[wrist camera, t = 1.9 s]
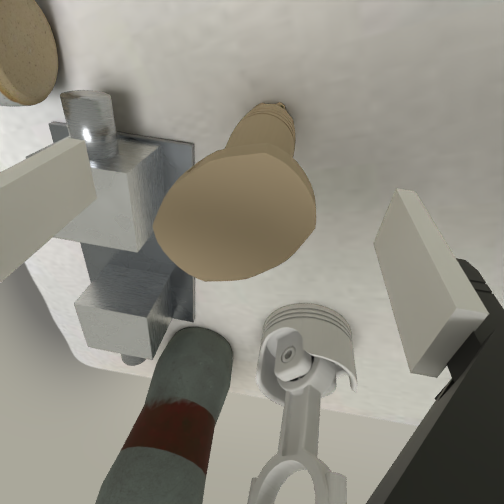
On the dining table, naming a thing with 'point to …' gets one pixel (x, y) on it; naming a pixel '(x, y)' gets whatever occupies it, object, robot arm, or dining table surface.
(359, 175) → the dining table surface
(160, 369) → the bottle
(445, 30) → the dining table surface
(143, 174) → the shaft bed
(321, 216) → the dining table surface
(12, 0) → the ceramic mug
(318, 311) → the engine component
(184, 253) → the handle
